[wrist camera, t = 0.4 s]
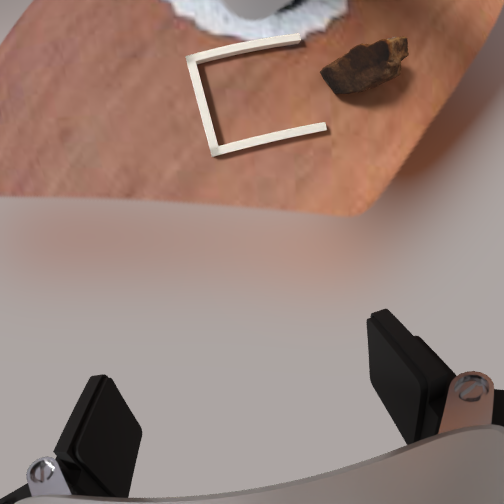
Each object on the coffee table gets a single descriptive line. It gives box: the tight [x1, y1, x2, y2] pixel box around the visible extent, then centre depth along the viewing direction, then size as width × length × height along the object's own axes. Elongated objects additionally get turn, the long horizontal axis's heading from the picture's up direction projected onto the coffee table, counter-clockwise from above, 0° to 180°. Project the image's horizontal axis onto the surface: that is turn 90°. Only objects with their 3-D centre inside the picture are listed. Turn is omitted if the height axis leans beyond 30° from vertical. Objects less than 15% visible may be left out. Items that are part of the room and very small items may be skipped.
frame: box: [185, 33, 327, 157], centre depth 35 cm, size 13×14×2 cm
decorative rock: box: [320, 36, 408, 94], centre depth 31 cm, size 10×5×9 cm, turn 115°
